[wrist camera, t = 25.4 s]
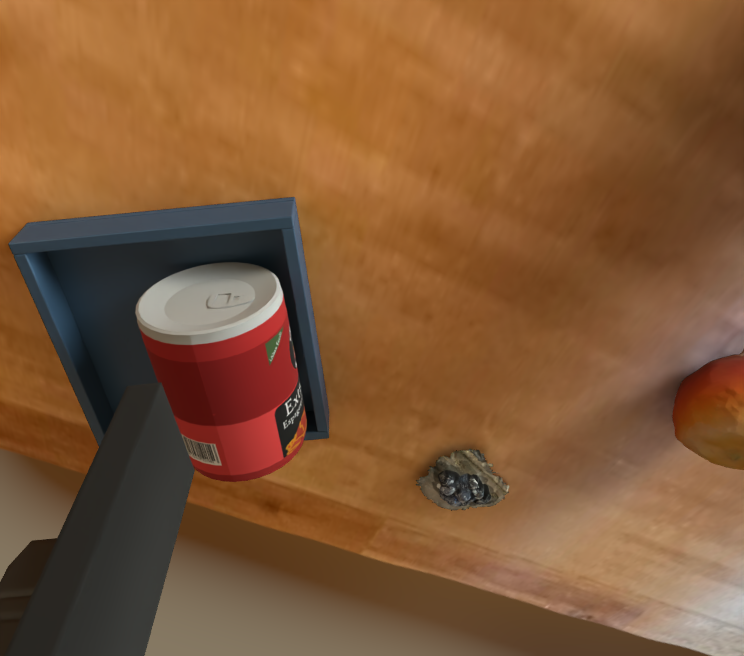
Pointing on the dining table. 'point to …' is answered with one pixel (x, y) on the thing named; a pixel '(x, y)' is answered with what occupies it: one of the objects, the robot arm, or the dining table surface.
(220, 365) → the canned food
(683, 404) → the fruit
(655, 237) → the dining table surface
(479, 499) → the grey mineral rock
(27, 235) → the tray
